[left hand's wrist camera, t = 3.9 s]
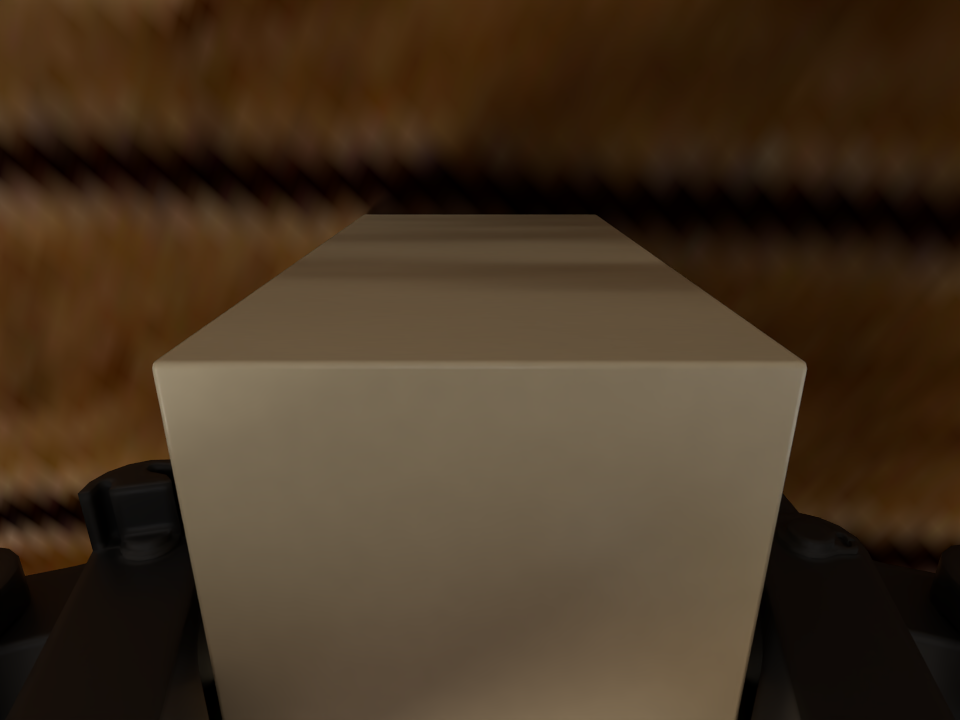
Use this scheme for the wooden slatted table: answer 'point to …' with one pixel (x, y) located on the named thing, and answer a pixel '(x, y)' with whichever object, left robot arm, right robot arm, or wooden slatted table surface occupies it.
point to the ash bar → (479, 478)
